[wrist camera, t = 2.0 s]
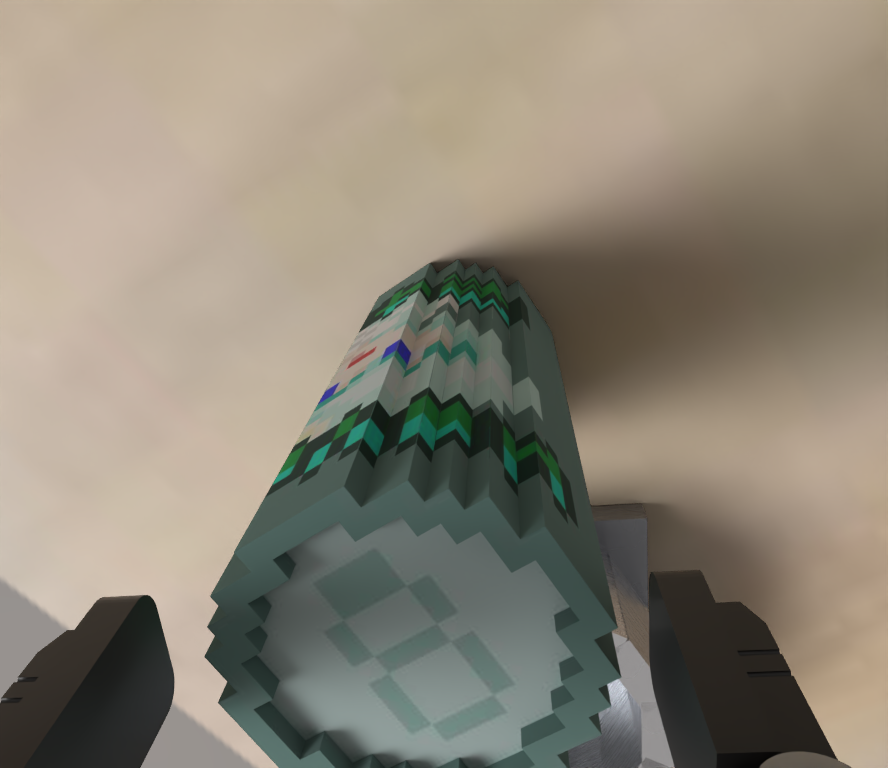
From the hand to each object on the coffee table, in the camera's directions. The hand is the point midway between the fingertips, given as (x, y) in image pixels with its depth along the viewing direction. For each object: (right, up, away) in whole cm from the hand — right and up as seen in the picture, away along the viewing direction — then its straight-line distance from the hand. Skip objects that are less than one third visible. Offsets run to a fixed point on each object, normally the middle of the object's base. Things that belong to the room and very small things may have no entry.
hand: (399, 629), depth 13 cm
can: (+1, +5, +14) cm, 15 cm away
